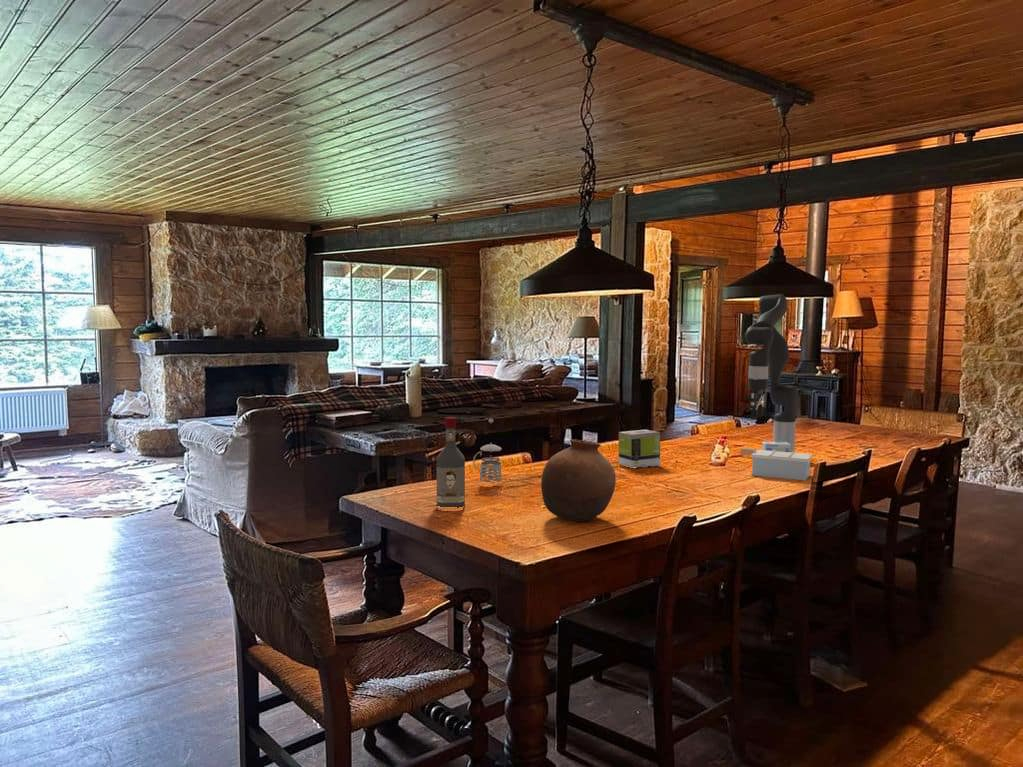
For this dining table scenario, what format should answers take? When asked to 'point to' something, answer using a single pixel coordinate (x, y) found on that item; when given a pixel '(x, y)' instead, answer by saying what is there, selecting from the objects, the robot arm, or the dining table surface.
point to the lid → (775, 455)
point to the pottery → (578, 482)
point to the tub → (781, 468)
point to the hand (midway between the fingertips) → (757, 417)
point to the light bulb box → (776, 446)
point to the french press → (490, 461)
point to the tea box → (639, 448)
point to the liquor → (450, 471)
